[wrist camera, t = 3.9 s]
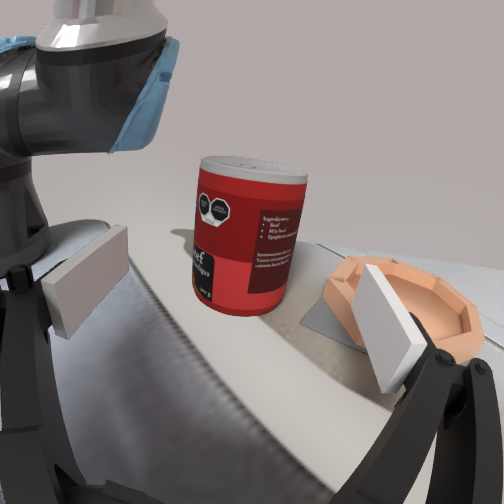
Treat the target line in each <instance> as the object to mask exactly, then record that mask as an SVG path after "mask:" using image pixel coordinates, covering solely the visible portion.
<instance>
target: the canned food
mask: <svg viewBox="0 0 504 504" xmlns="http://www.w3.org/2000/svg"><path fill="white" fill-rule="evenodd" d="M307 176H308V174H307V173H306V172H305V171H304V170H302V169H299V168H296V167H293V166H290V165H286V164H281V163H277V162H272V161H266V160H260V159H253V158H245V157H235V156H208V157H204V158H202V159H201V165H200V170H199V179H198V188H197V201H196V214H195V228H194V246H193V266H192V284H193V288H194V291H195V293H196V296H197V297H198V299H199V300H200V301H201V302H202V303H204V304H205V305H206V306H208V307H210V308H211V309H213V310H216V311H218V312H221V313H224V314H228V315H232V316H244V317H249V316H258V315H262V314H265V313H267V312H270V311H272V310H273V309H274V308H275V307H276V306H277V305H278V303H279V302H280V300H281V299H282V297H283V295H284V291H285V287H286V282H287V278H288V274H289V269H290V265H291V260H292V256H293V251H294V247H295V242H296V237H297V233H298V228H299V223H300V218H301V214H302V209H303V204H304V198H305V191H306V186H307Z"/></svg>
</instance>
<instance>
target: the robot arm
mask: <svg viewBox="0 0 504 504" xmlns="http://www.w3.org/2000/svg"><path fill="white" fill-rule="evenodd" d="M167 24H168V20H167V18H166V17H165V16H164V15H163V14H162V13H161V12H160V11H159V10H158V9H157V8H156V7H155V5H154V0H54V3H53V17H52V19H51V21H50V22H49V23H48V24H47V26H46V27H45V28H44V29H43V30H42V32H41V33H40V34H39V35H38V37H34V36H27V35H17V36H14V37H13V38H7V37H4V38H0V278H1V277H4V276H5V277H6V280H7V284H8V288H9V291H7V290H2V289H1V286H0V400H1V419H2V430H1V431H0V481H1V486H2V490H3V494H4V498H5V502H6V504H164V503H162V502H160V501H158V500H156V499H154V498H152V497H150V496H148V495H147V494H145V493H143V492H140V491H137V490H134V489H131V488H128V487H125V486H123V485H120V484H117V483H115V482H112V481H110V480H106V483H105V486H104V485H87V483H86V481H85V479H84V477H83V476H82V474H81V472H80V471H79V469H78V467H77V464H76V461H75V458H74V455H73V452H72V449H71V446H70V443H69V439H68V436H67V432H66V428H65V424H64V420H63V416H62V412H61V407H60V403H59V398H58V393H57V387H56V382H55V375H54V369H53V361H52V353H51V344H50V335H49V332H48V328H49V327H50V326H51V325H53V328H54V331H55V335H57V336H60V337H62V338H65V339H67V340H69V339H70V337H71V336H72V335H73V334H74V332H75V331H76V330H77V329H78V328H79V326H80V325H81V324H82V323H83V322H84V320H85V319H86V318H87V317H88V316H89V315H90V313H91V312H92V311H93V310H94V309H95V308H96V307H97V305H98V304H99V303H100V302H101V301H102V300H103V299H104V297H105V296H106V295H107V294H108V293H109V292H110V291H111V290H112V289H113V287H114V286H115V285H116V284H117V283H118V282H119V281H120V280H121V279H122V278H123V277H124V275H125V274H126V273H127V272H128V271H129V261H128V237H127V227H126V226H120V225H115V226H114V227H112V228H111V229H109V230H108V231H106V232H105V233H103V234H102V235H100V236H99V237H97V238H96V239H95V240H93V241H92V242H90V243H89V244H88V245H86V246H85V247H83V248H82V249H81V250H79V251H78V252H76V253H75V254H74V255H72V256H71V257H70V258H68V259H66V260H63V261H61V262H59V263H58V264H57V265H55V266H54V268H51V269H50V270H49V272H46V273H45V274H44V275H42V276H41V277H40V278H39V279H37V280H36V281H35V282H34V279H33V274H32V269H31V266H29V264H31V263H32V262H34V261H35V260H37V259H38V258H39V257H40V256H41V255H42V254H43V253H44V252H45V251H46V250H47V248H48V247H49V244H50V235H49V227H48V222H47V219H46V216H45V214H44V212H43V209H42V206H41V204H40V201H39V198H38V195H37V193H36V190H35V187H34V184H33V181H32V172H31V171H32V170H31V158H32V156H38V155H52V154H69V153H96V152H98V153H99V152H107V153H108V154H110V153H114V152H115V151H131V150H139V149H142V148H144V147H145V146H147V145H149V143H150V142H151V141H152V140H153V138H154V136H155V134H156V131H157V128H158V125H159V121H160V118H161V114H162V111H163V107H164V104H165V100H166V97H167V93H168V89H169V84H170V79H171V77H172V73H173V70H174V67H175V64H176V60H177V56H178V52H179V41H178V40H176V39H173V38H172V37H170V36H169V37H165V34H166V29H167ZM351 309H352V311H353V314H354V317H355V319H356V322H357V324H358V327H359V330H360V332H361V335H362V338H363V341H364V343H365V346H366V349H367V352H368V355H369V357H370V360H371V363H372V366H373V369H374V372H375V375H376V378H377V381H378V384H379V387H380V390H381V393H382V394H386V393H397V392H398V391H399V389H400V388H401V386H402V385H403V383H404V386H405V388H406V391H405V392H404V394H403V395H402V397H401V398H400V399H399V401H398V402H397V403H396V405H395V406H394V407H395V410H394V411H393V413H392V415H391V417H390V419H389V420H388V422H387V423H386V425H385V427H384V428H383V430H382V432H381V433H380V435H379V437H378V438H377V439H376V441H375V442H374V444H373V445H372V447H371V449H370V450H369V451H368V453H367V454H366V456H365V457H364V459H363V460H362V461H361V463H360V464H359V466H358V467H357V468H356V470H355V471H354V472H353V473H352V475H351V476H350V478H349V479H348V480H347V481H346V483H345V484H344V485H343V486H342V487H341V489H340V490H339V491H338V492H337V493H336V495H335V496H334V497H333V498H332V499H331V500H330V502H329V503H328V504H403V502H404V500H405V498H406V497H407V495H408V493H409V491H410V490H411V488H412V486H413V484H414V482H415V480H416V478H417V476H418V474H419V472H420V470H421V467H422V465H423V463H424V461H425V459H426V456H427V454H428V452H429V449H430V447H431V444H432V442H433V440H434V437H435V434H436V432H437V439H436V448H435V455H434V462H433V469H432V474H431V480H430V485H429V490H428V494H427V499H426V503H425V504H502V503H501V502H502V490H503V449H502V434H501V424H500V415H499V408H498V401H497V395H496V389H495V384H494V379H493V374H492V370H491V368H490V366H489V365H488V363H487V362H485V361H484V360H481V359H479V358H473V359H471V360H470V362H469V363H468V365H467V366H463V365H459V364H456V361H455V358H454V357H453V356H452V355H451V354H450V353H449V352H447V351H445V350H443V349H437V348H436V346H435V344H434V343H433V341H432V339H431V338H430V336H429V334H428V333H427V332H426V330H425V328H424V327H423V325H422V323H421V322H420V320H419V319H418V318H417V317H416V316H415V315H414V314H413V313H411V312H408V311H407V310H406V308H405V306H404V305H403V303H402V302H401V300H400V299H399V297H398V296H397V294H396V293H395V291H394V290H393V288H392V287H391V285H390V284H389V282H388V281H387V279H386V278H385V276H384V275H383V273H382V272H381V271H380V269H379V268H378V266H377V265H370V264H364V267H363V271H362V274H361V277H360V280H359V283H358V286H357V289H356V292H355V294H354V297H353V300H352V303H351Z"/></svg>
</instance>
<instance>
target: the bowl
mask: <svg viewBox="0 0 504 504" xmlns="http://www.w3.org/2000/svg"><path fill="white" fill-rule="evenodd" d="M364 264H370V265H377V266H378V268H379V269H380V271H381V272H382V273H383V275H384V276H385V278H386V279H387V281H388V282H389V284H390V285H391V287H392V288H393V290H394V291H395V293H396V294H397V296H398V297H399V299H400V300H401V302H402V303H403V305H404V306H405V308H406V310H407V311H408V312H411V313H413V314H414V315H415V316H416V317H417V318H418V319H419V320H420V322H421V323H422V325H423V327H424V328H425V330H426V332H427V333H428V334H429V336H430V338H431V339H432V341H433V343H434V344H435V346H436V348H437V349H443V350H445V351H447V352H449V353H450V354H451V355H452V356H453V357H454V358H455V361H456V364H460V363H462V362H465V361H467V360H469V359H472V358H474V357H475V355H476V354H477V352H478V350H479V349H480V347H481V345H482V344H483V342H484V340H485V337H484V333H483V329H482V325H481V321H480V317H479V314H478V310H477V307H476V306H475V305H474V304H473V303H472V302H471V301H469V300H468V299H467V298H466V297H465V296H463V295H462V294H461V293H460V292H459V291H457V290H456V289H455V288H454V287H452V286H451V285H450V284H449V283H447V282H446V281H445V280H444V279H442V278H441V277H439V276H437V275H434V274H432V273H429V272H427V271H424V270H422V269H419V268H416V267H414V266H411V265H409V264H406V263H403V262H401V261H398V260H395V259H393V258H376V257H356V256H347V257H346V258H345V260H344V261H343V262H342V263H341V264H340V265H339V266H338V267H337V268H336V269H335V270H334V271H333V272H332V273H331V274H330V276H329V277H328V279H327V283H326V286H325V289H324V293H323V296H322V297H323V298H324V299H325V301H326V302H327V304H328V305H329V306H330V308H331V309H332V311H333V312H334V314H335V315H336V316H337V318H338V319H339V321H340V322H341V324H342V325H343V326H344V328H345V329H346V331H347V332H348V334H349V335H350V337H351V338H352V339H353V341H354V342H355V344H357V345H359V346H361V347H364V348H366V346H365V343H364V341H363V338H362V335H361V332H360V330H359V327H358V324H357V322H356V319H355V317H354V314H353V311H352V309H351V303H352V300H353V297H354V294H355V292H356V289H357V286H358V283H359V280H360V277H361V274H362V271H363V267H364Z"/></svg>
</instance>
